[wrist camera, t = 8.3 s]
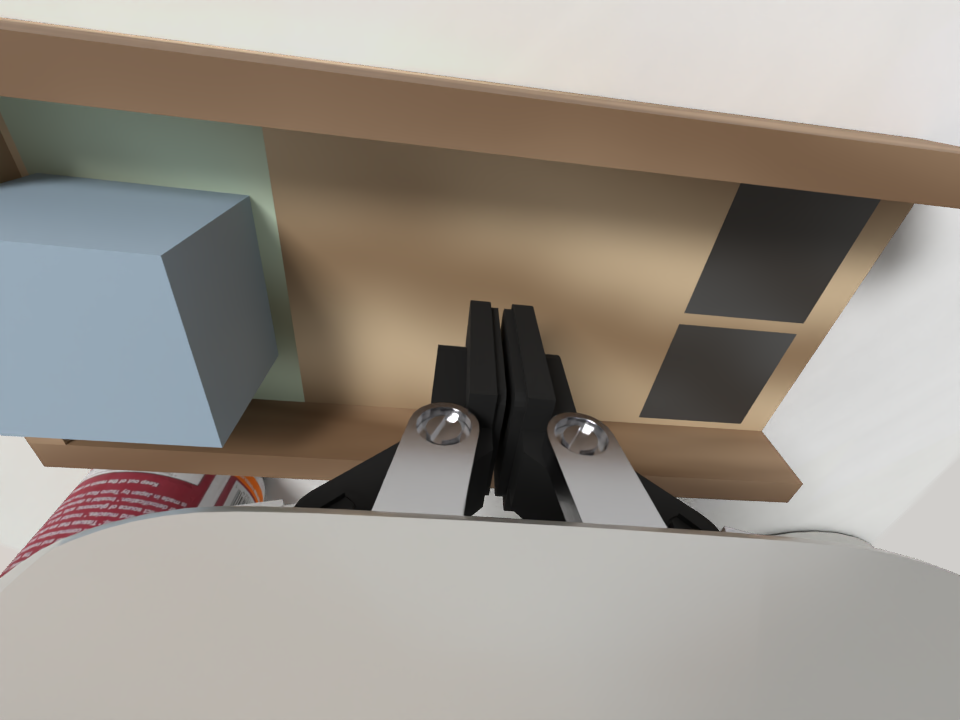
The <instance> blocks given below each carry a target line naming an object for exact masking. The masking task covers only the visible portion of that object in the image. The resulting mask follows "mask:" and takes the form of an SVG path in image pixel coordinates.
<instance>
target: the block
mask: <svg viewBox="0 0 960 720" xmlns="http://www.w3.org/2000/svg"><path fill="white" fill-rule="evenodd" d="M277 357H278V350H277V344H276V339H275V333H274V328H273V322H272V317H271V311H270V306H269V300H268V295H267V289H266V284H265V278H264V273H263V268H262V262H261V257H260V251H259V246H258V240H257V235H256V229H255V224H254V218H253V213H252V207H251V202H250V196H249V195H240V194H231V193H222V192H212V191H203V190H194V189H184V188H175V187H165V186H156V185H147V184H137V183H128V182H119V181H109V180H100V179H90V178H81V177H72V176H62V175H53V174H44V173H35V174H31V175H28V176H24V177H21V178H17V179H14V180H11V181H7V182H4V183H0V435H3V436H21V437H38V438H56V439H74V440H92V441H110V442H128V443H146V444H163V445H181V446H199V447H217V448H223V446H224V444H225V443H226V441H227V439H228V438H229V436H230V434H231V433H232V431H233V430H234V428H235V426H236V425H237V423H238V421H239V420H240V418H241V416H242V415H243V413H244V411H245V410H246V408H247V406H248V405H249V403H250V401H251V400H252V398H253V397H254V395H255V393H256V392H257V390H258V388H259V387H260V385H261V383H262V382H263V380H264V378H265V377H266V375H267V373H268V372H269V370H270V369H271V367H272V365H273V364H274V362H275V360H276V359H277Z"/></svg>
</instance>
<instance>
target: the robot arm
mask: <svg viewBox="0 0 960 720" xmlns="http://www.w3.org/2000/svg"><path fill="white" fill-rule="evenodd" d="M493 470H494V488H495V496H503V508H504V511H514V512H515V513H517V514H518V515H519V516H520V517H521V518H522V519H511V518H494V517H477V516H472V515H473V514H474V513H476V512H477V511H478V510H479V509H481V508H482V507H483V502H484V497H485V495H489V492H490V486H491V481H492V476H493ZM0 720H960V575H958V574H956V573H953V572H951V571H948V570H945V569H943V568H940V567H937V566H935V565H932V564H929V563H926V562H923V561H921V560H918V559H915V558H911V557H908V556H904V555H901V554H897V553H893V552H889V551H885V550H882V549H877V548H874V547H873V546H872V545H871V544H869V543H867V542H865V541H863V540H861V539H859V538H856V537H852V536H848V535H843V534H839V533H830V532H794V533H787V534H780V535H773V536H771V535H758V534H753V533H749V532H745V531H741V530H737V529H733V528H729V527H725V526H724V527H723V529H722V530H721V531H719V530H718V529H717V528H716V526H715V525H714V524H713V523H712V522H710V521H709V520H708V519H707V518H705V517H704V516H703V515H701V514H700V513H698V512H697V511H695V510H694V509H692V508H691V507H689V506H688V505H686V504H685V503H683V502H682V501H680V500H679V499H677V498H675V497H674V496H672V495H671V494H669V493H668V492H666V491H665V490H663V489H662V488H660V487H659V486H657V485H656V484H654V483H653V482H651V481H650V480H648V479H647V478H645V477H644V476H642V475H641V474H639V473H638V472H636V471H634V469H633V467H632V466H631V464H630V462H629V460H628V459H627V457H626V455H625V453H624V452H623V450H622V448H621V447H620V445H619V443H618V441H617V440H616V438H615V436H614V434H613V433H612V432H611V431H610V429H609V428H608V427H607V426H606V425H605V424H603V423H602V422H601V421H599V420H597V419H595V418H593V417H591V416H589V415H585V414H582V413H577V412H576V408H575V405H574V402H573V398H572V395H571V391H570V388H569V385H568V381H567V378H566V374H565V371H564V368H563V364H562V361H561V358H560V356H559V355H552V354H545V352H544V348H543V344H542V340H541V336H540V332H539V328H538V324H537V319H536V315H535V311H534V307H533V306H528V305H517V304H512V306H511V309H504V311H503V316H502V322H501V328H500V320H499V310H498V308H493V307H491V302H486V301H475V300H471V301H470V308H469V317H468V326H467V335H466V344H465V347H461V346H450V345H438V350H437V358H436V365H435V373H434V381H433V389H432V397H431V404H428V405H425V406H422V407H421V408H419V409H418V410H416V411H415V412H414V413H413V414H412V416H411V417H410V419H409V421H408V424H407V426H406V429H405V431H404V433H403V436H402V438H401V441H400V442H398V443H396V444H394V445H392V446H391V447H389V448H387V449H385V450H384V451H382V452H380V453H378V454H376V455H375V456H373V457H371V458H369V459H367V460H366V461H364V462H362V463H360V464H359V465H357V466H355V467H353V468H351V469H350V470H348V471H346V472H344V473H343V474H341V475H339V476H337V477H335V478H334V479H332V480H330V481H328V482H327V483H325V484H323V485H321V486H319V487H318V488H316V489H314V490H312V491H311V492H309V493H308V494H307V495H305V496H304V497H302V498H301V499H300V500H299V501H298V503H297V504H289V505H284V504H283V500H282V499H281V500H274V501H266V502H258V503H250V504H242V505H235V506H213V507H196V508H183V509H176V510H170V511H163V512H156V513H149V514H144V515H140V516H136V517H131V518H127V519H123V520H119V521H114V522H110V523H106V524H103V525H100V526H97V527H93V528H90V529H87V530H84V531H81V532H79V533H76V534H74V535H71V536H68V537H66V538H63V539H61V540H59V541H57V542H55V543H53V544H51V545H49V546H47V547H45V548H43V549H41V550H39V551H38V552H36V553H35V554H33V555H32V556H30V557H29V558H27V559H26V560H24V561H23V562H21V563H19V564H18V565H17V566H15V567H14V568H13V569H12V570H10V571H9V572H8V573H6V574H5V575H4V576H2V577H1V578H0Z"/></svg>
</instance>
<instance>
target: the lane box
mask: <svg viewBox="0 0 960 720" xmlns="http://www.w3.org/2000/svg"><path fill="white" fill-rule="evenodd" d="M35 173H44V174H53V175H62V176H72V177H81V178H90V179H100V180H109V181H119V182H128V183H137V184H147V185H156V186H165V187H175V188H184V189H194V190H203V191H212V192H222V193H231V194H240V195H249V196H250V202H251V207H252V213H253V218H254V224H255V229H256V235H257V240H258V246H259V251H260V257H261V262H262V268H263V273H264V278H265V284H266V289H267V295H268V300H269V306H270V311H271V317H272V322H273V328H274V333H275V339H276V344H277V350H278V357H277V359H276V360H275V362H274V364H273V365H272V367H271V369H270V370H269V372H268V373H267V375H266V377H265V378H264V380H263V382H262V383H261V385H260V387H259V388H258V390H257V392H256V393H255V395H254V397H253V398H252V400H251V401H250V403H249V405H248V406H247V408H246V410H245V411H244V413H243V415H242V416H241V418H240V420H239V421H238V423H237V425H236V426H235V428H234V430H233V431H232V433H231V434H230V436H229V438H228V439H227V441H226V443H225V444H224V446H223V448H217V447H199V446H181V445H163V444H146V443H128V442H110V441H92V440H74V439H56V438H38V437H25V439H26V440H27V442H28V443H29V445H30V446H31V448H32V449H33V451H34V452H35V453H36V455H37V456H38V458H39V459H40V461H41V462H42V464H43V465H44V466H45V467H66V468H86V469H107V470H127V471H148V472H168V473H189V474H210V475H230V476H251V477H271V478H292V479H312V480H332V479H334V478H335V477H337V476H339V475H341V474H343V473H344V472H346V471H348V470H350V469H351V468H353V467H355V466H357V465H359V464H360V463H362V462H364V461H366V460H367V459H369V458H371V457H373V456H375V455H376V454H378V453H380V452H382V451H384V450H385V449H387V448H389V447H391V446H392V445H394V444H396V443H398V442H400V441H401V438H402V436H403V433H404V431H405V429H406V426H407V424H408V421H409V419H410V417H411V416H412V414H413V413H414V412H415V411H416V410H418V409H419V408H421V407H422V406H425V405H428V404H431V397H432V389H433V381H434V373H435V365H436V358H437V350H438V345H450V346H461V347H465V344H466V335H467V326H468V317H469V308H470V301H471V300H475V301H486V302H491V307H493V308H498V310H499V320H500V328H501V322H502V316H503V311H504V309H511V306H512V304H517V305H528V306H533V307H534V311H535V315H536V319H537V324H538V328H539V332H540V336H541V340H542V344H543V348H544V352H545V354H552V355H559V356H560V358H561V361H562V364H563V368H564V371H565V374H566V378H567V381H568V385H569V388H570V391H571V395H572V398H573V402H574V405H575V408H576V412H577V413H582V414H585V415H589V416H591V417H593V418H595V419H597V420H599V421H601V422H602V423H603V424H605V425H606V426H607V427H608V428H609V429H610V431H611V432H612V433H613V434H614V436H615V438H616V440H617V441H618V443H619V445H620V447H621V448H622V450H623V452H624V453H625V455H626V457H627V459H628V460H629V462H630V464H631V466H632V467H633V469H634V471H636V472H638V473H639V474H641V475H642V476H644V477H645V478H647V479H648V480H650V481H651V482H653V483H654V484H656V485H657V486H659V487H660V488H662V489H663V490H665V491H666V492H668V493H669V494H671V495H672V496H674V497H683V498H703V499H724V500H745V501H765V502H786V503H788V502H789V500H790V499H791V498H792V497H793V495H794V494H795V493H796V492H797V491H798V489H799V488H800V487H801V486H802V485H803V483H802V482H801V481H800V480H799V478H798V477H797V476H796V474H795V473H794V472H793V471H792V469H791V468H790V467H789V465H788V464H787V463H786V462H785V460H784V459H783V458H782V456H781V455H780V454H779V453H778V451H777V450H776V449H775V447H774V446H773V445H772V444H771V442H770V441H769V440H768V439H767V437H766V436H765V435H764V433H763V432H762V430H763V428H764V427H765V425H766V424H767V422H768V421H769V419H770V418H771V416H772V415H773V414H774V412H775V411H776V409H777V408H778V406H779V405H780V403H781V402H782V400H783V399H784V397H785V396H786V394H787V393H788V391H789V390H790V388H791V387H792V385H793V384H794V382H795V381H796V379H797V378H798V376H799V375H800V373H801V372H802V370H803V369H804V367H805V366H806V364H807V363H808V361H809V360H810V358H811V357H812V355H813V354H814V352H815V351H816V350H817V348H818V347H819V345H820V344H821V342H822V341H823V339H824V338H825V336H826V335H827V333H828V332H829V330H830V329H831V327H832V326H833V324H834V323H835V321H836V320H837V318H838V317H839V315H840V314H841V312H842V311H843V309H844V308H845V306H846V305H847V303H848V302H849V300H850V299H851V297H852V296H853V294H854V293H855V291H856V290H857V288H858V287H859V285H860V284H861V283H862V281H863V280H864V278H865V277H866V275H867V274H868V272H869V271H870V269H871V268H872V266H873V265H874V263H875V262H876V260H877V259H878V257H879V256H880V254H881V253H882V251H883V250H884V248H885V247H886V245H887V244H888V242H889V241H890V239H891V238H892V236H893V235H894V233H895V232H896V230H897V229H898V227H899V226H900V224H901V223H902V221H903V220H904V219H905V217H906V216H907V214H908V213H909V211H910V210H911V208H912V207H913V205H914V204H915V203H916V204H924V205H933V206H941V207H950V208H958V209H960V147H958V146H953V145H948V144H943V143H938V142H933V141H928V140H923V139H917V138H909V137H902V136H894V135H886V134H879V133H871V132H864V131H856V130H849V129H841V128H833V127H826V126H818V125H811V124H803V123H796V122H788V121H780V120H773V119H765V118H758V117H750V116H743V115H735V114H727V113H720V112H712V111H705V110H697V109H689V108H682V107H674V106H667V105H659V104H652V103H644V102H636V101H629V100H621V99H614V98H606V97H599V96H591V95H583V94H576V93H568V92H561V91H553V90H546V89H538V88H530V87H523V86H515V85H508V84H500V83H493V82H485V81H477V80H470V79H462V78H455V77H447V76H440V75H432V74H424V73H417V72H409V71H402V70H394V69H386V68H379V67H371V66H364V65H356V64H349V63H341V62H333V61H326V60H318V59H311V58H303V57H296V56H288V55H280V54H273V53H265V52H258V51H250V50H243V49H235V48H227V47H220V46H212V45H205V44H197V43H190V42H182V41H174V40H167V39H159V38H152V37H144V36H137V35H129V34H121V33H114V32H106V31H99V30H91V29H83V28H76V27H68V26H61V25H53V24H46V23H38V22H30V21H23V20H15V19H8V18H0V183H4V182H7V181H11V180H14V179H17V178H21V177H24V176H28V175H31V174H35ZM490 488H494V470H493V476H492V481H491V486H490Z"/></svg>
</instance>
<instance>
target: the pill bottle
mask: <svg viewBox="0 0 960 720" xmlns="http://www.w3.org/2000/svg"><path fill="white" fill-rule="evenodd" d="M264 498H265V486H264V482H263V479H262V477H251V476H230V475H210V474H189V473H168V472H148V471H127V470H107V469H92V470H91V471H90V472H89V473H88V474H87V476H86V477H85V478H84V479H83V480H82V481H81V483H80V484H79V485H78V486H77V487H76V488H75V489H74V491H73V492H72V493H71V494H70V495H69V496H68V497H67V499H66V500H65V501H64V502H63V503H62V504H61V506H60V507H59V508H58V509H57V510H56V511H55V512H54V514H53V515H52V516H51V517H50V518H49V519H48V521H47V522H46V523H45V524H44V525H43V526H42V528H41V529H40V530H39V531H38V532H37V533H36V534H35V535H34V537H33V538H32V539H31V540H30V541H29V543H28V544H27V545H26V546H25V547H24V548H23V549H22V550H21V552H20V553H18V555H17V556H16V558H15V559H14V560H13V561H12V562H11V563H10V564H9V566H8V567H7V568H6V569H5V570H4V571H3V572H2V574H1V575H0V578H1V577H2V576H4V575H5V574H6V573H8V572H9V571H10V570H12V569H13V568H14V567H15V566H17V565H18V564H19V563H21V562H23V561H24V560H26V559H27V558H29V557H30V556H32V555H33V554H35V553H36V552H38V551H39V550H41V549H43V548H45V547H47V546H49V545H51V544H53V543H55V542H57V541H59V540H61V539H63V538H66V537H68V536H71V535H74V534H76V533H79V532H81V531H84V530H87V529H90V528H93V527H97V526H100V525H103V524H106V523H110V522H114V521H119V520H123V519H127V518H131V517H136V516H140V515H144V514H149V513H156V512H163V511H170V510H176V509H183V508H196V507H213V506H235V505H242V504H250V503H258V502H264Z"/></svg>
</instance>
